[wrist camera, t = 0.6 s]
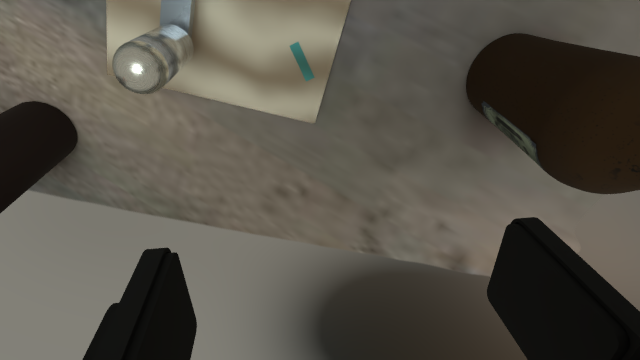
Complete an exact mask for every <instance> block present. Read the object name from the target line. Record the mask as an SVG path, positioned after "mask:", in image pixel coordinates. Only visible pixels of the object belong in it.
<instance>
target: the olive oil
mask: <svg viewBox="0 0 640 360" xmlns="http://www.w3.org/2000/svg"><path fill="white" fill-rule="evenodd" d="M466 88H467V95H468V98H469V100H470V102H471V104H472V105H473V106H474V108H475V109H476V110H478V111H479V112H480V113H481V114H482V115H484V116H485V117H486V118H487V119H488V120H489V121H490V122H492V123H493V124H494V125H495V126H496V127H497V128H498V129H500V130H501V131H502V132H503V133H504V134H505V135H506V136H507V137H508V138H510V139H511V140H512V141H513V142H514V143H515V144H516V145H517V146H518V147H520V148H521V149H522V150H523V151H524V152H525V153H526V154H527V155H528V156H529V157H530V158H531V159H533V160H534V161H535V162H536V163H537V164H538V165H539V166H540V167H541V168H542V169H543V170H544V171H546V172H547V173H548V174H549V175H550V176H552V177H553V178H555V179H556V180H558V181H560V182H562V183H564V184H566V185H568V186H571V187H573V188H576V189H579V190H583V191H586V192H591V193H598V194H617V193H625V192H630V191H635V190H640V57H638V56H633V55H627V54H622V53H616V52H611V51H605V50H600V49H595V48H589V47H584V46H579V45H574V44H569V43H564V42H559V41H554V40H550V39H546V38H541V37H537V36H533V35H528V34H510V35H506V36H503V37H501V38H499V39H497V40H495V41H493V42H492V43H490V44H489V45H488V46H487V47H485V48H484V49H483V50H482V51H481V53H480V54H479V55H478V56H477V58H476V59H475V60H474V62H473V64H472V66H471V68H470V70H469V73H468V77H467V84H466Z"/></svg>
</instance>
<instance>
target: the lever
mask: <svg viewBox="0 0 640 360" xmlns="http://www.w3.org/2000/svg"><path fill="white" fill-rule="evenodd" d="M194 9H195V0H161V11H160V27H158V28H155V29H153V30H151V31H149V32H147V33H145V34H143V35H141V36H139V37H137V38H135V39H132V40H130V41H128V42H126V43H124V44H123V45H121V46H120V47H119V48H118V49H117V50H116V52H115V54H114V56H113V60H112V68H113V72H114V74H115V76H116V78H117V80H118V81H119V82H120V83H121V84H122V85H123V86H124V87H125V88H127V89H128V90H130V91H132V92H134V93H138V94H151V93H154V92H157V91H159V90H160V89H161V88H163V87H164V86H165V85H166V84H167V83H168V82H169V81H170V80H171V79H172V78H173V77H174V76H175V75H176V74H177V73H178V72H179V71H180V70H181V69H182V68H183V67H184V66H185V65H186V64H187V63H188V62H189V61H190V60H191V58H192V56H193V52H194V47H193V42H192V40H191V39H192V29H193V19H194Z"/></svg>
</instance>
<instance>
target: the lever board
mask: <svg viewBox="0 0 640 360" xmlns="http://www.w3.org/2000/svg"><path fill="white" fill-rule="evenodd" d="M350 2H351V0H195V9H194V19H193V29H192V39H191V40H192V42H193V47H194V52H193V56H192V58H191V60H190V61H189V62H188V63H187V64H186V65H185V66H184V67H183V68H182V69H181V70H180V71H179V72H178V73H177V74H176V75H175V76H174V77H173V78H172V79H171V80H170V81H169V82H168V83H167V84H166V85H165V86H164V87H163V88H166V89H170V90H174V91H179V92H183V93H187V94H191V95H195V96H200V97H204V98H208V99H212V100H216V101H221V102H225V103H229V104H233V105H237V106H242V107H246V108H250V109H254V110H258V111H263V112H267V113H271V114H275V115H279V116H284V117H288V118H292V119H296V120H300V121H305V122H309V123H313V124H315V121H316V118H317V114H318V111H319V107H320V104H321V101H322V97H323V94H324V90H325V87H326V84H327V80H328V77H329V73H330V70H331V67H332V63H333V60H334V56H335V53H336V49H337V46H338V43H339V39H340V36H341V32H342V29H343V26H344V22H345V19H346V15H347V12H348V9H349V5H350ZM160 11H161V0H107V75H111V76H115V74H114V72H113V68H112V60H113V56H114V54H115V52H116V50H117V49H118V48H119V47H120V46H121V45H123V44H124V43H126V42H128V41H130V40H132V39H135V38H137V37H139V36H141V35H143V34H145V33H147V32H149V31H151V30H153V29H155V28H158V27H160ZM115 77H116V76H115Z"/></svg>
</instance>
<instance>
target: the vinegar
mask: <svg viewBox="0 0 640 360" xmlns="http://www.w3.org/2000/svg"><path fill="white" fill-rule="evenodd" d="M76 141H77V139H76V131H75V129H74V127H73V125H72V123H71V122H70V121H69V119H68V118H67V117H66V116H65V115H64V114H63V113H61V112H60V111H59V110H57V109H56V108H54V107H52V106H49V105H47V104H44V103H39V102H25V103H21V104H19V105H17V106H15V107H13V108H11V109H9V110H7V111H5V112H3V113H1V114H0V213H1V212H2V211H4V210H5V209H6V208H7V207H8V206H9V205H10V204H12V203H13V202H14V201H15V200H16V199H17V198H19V197H20V196H21V195H22V194H23V193H24V192H25V191H27V190H28V189H29V188H30V187H31V186H32V185H34V184H35V183H36V182H37V181H38V180H39V179H41V178H42V177H43V176H44V175H45V174H46V173H48V172H49V171H50V170H51V169H52V168H53V167H54V166H56V165H57V164H58V163H59V162H60V161H61V160H63V159H64V158H65V157H66V156H67V155H68V154H69V153H70V152H71V151H72V150H73V149H74V147H75V144H76Z"/></svg>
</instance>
